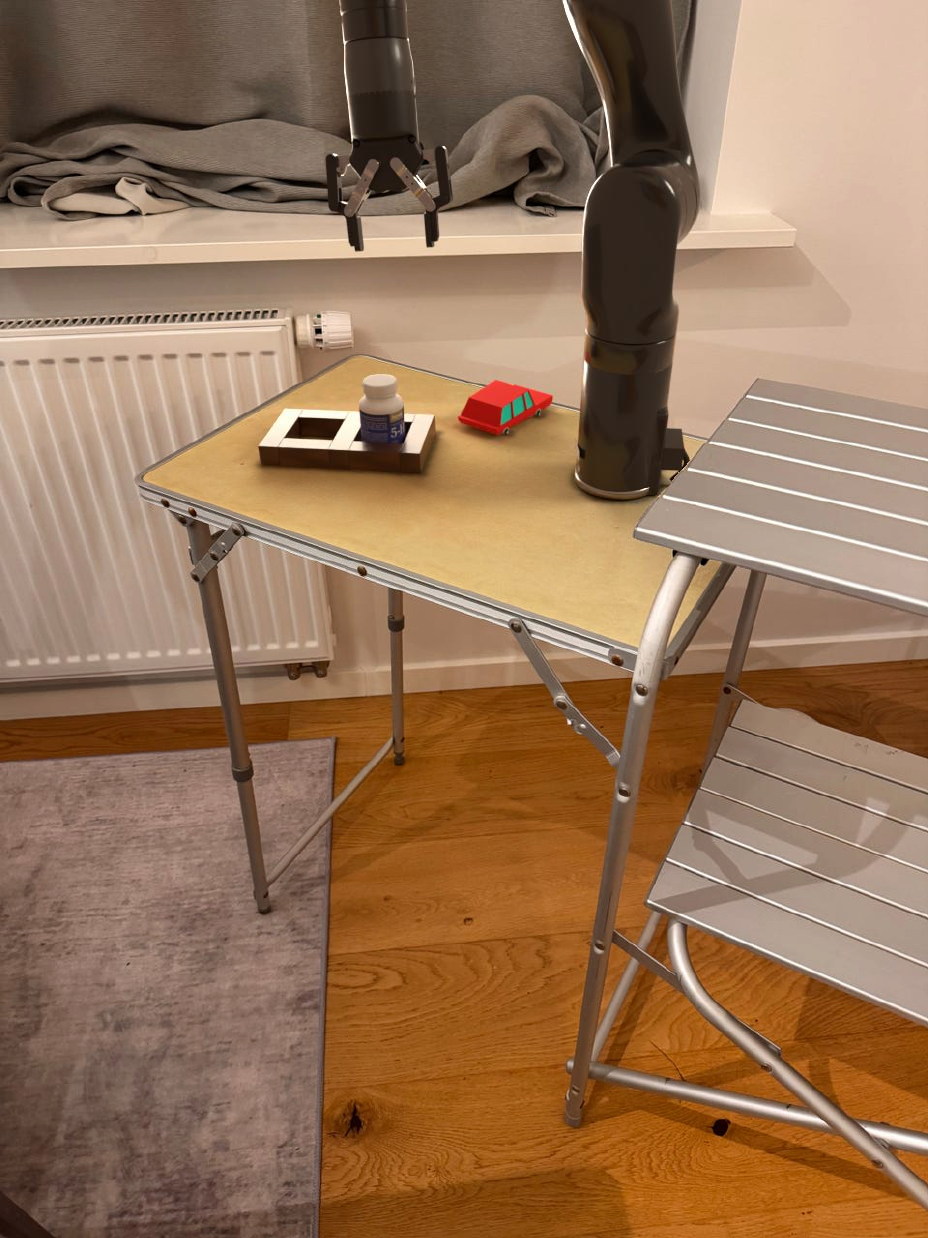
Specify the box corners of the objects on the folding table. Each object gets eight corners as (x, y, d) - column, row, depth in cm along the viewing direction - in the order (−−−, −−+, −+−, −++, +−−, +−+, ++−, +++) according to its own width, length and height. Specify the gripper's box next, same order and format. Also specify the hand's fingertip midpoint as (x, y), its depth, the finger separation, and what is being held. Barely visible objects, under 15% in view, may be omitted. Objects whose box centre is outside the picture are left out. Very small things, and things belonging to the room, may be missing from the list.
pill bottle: (400, 461, 107) (395, 390, 102) (357, 458, 108) (350, 387, 102) (411, 442, 111) (407, 372, 106) (370, 439, 112) (364, 370, 107)
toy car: (554, 408, 119) (555, 378, 116) (498, 440, 111) (498, 409, 109) (514, 396, 122) (514, 367, 120) (457, 426, 115) (456, 396, 112)
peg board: (435, 433, 113) (434, 414, 112) (420, 473, 104) (419, 453, 103) (287, 426, 115) (284, 408, 114) (261, 465, 107) (257, 445, 105)
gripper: (309, 93, 97) (328, 255, 104) (440, 82, 95) (451, 247, 102) (326, 98, 104) (343, 250, 111) (448, 88, 102) (458, 243, 109)
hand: (395, 248), depth 107 cm, fingers open, 8 cm apart
